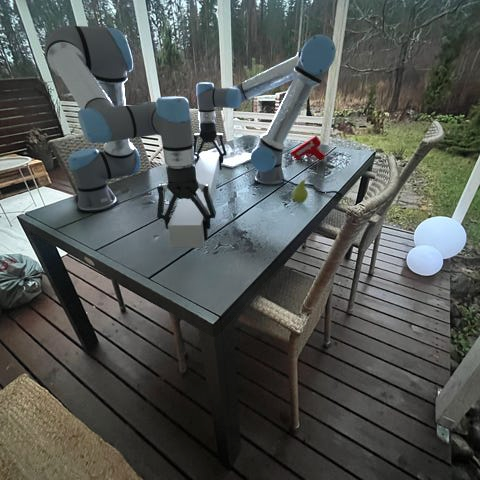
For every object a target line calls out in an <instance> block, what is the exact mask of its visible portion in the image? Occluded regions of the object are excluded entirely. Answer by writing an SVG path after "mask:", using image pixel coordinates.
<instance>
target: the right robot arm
mask: <svg viewBox="0 0 480 480" xmlns="http://www.w3.org/2000/svg"><path fill="white" fill-rule="evenodd" d="M336 51H337V50H336V45H335V42H334V41H333V39H332V38H331V37H329V36H328V35H325V34H321V33H320V34H315V35H313V36H312V37H310V38H309V39H308V40H307V41H306V42H304V44H303V46H302V48H301V50H300V51H298V52H297V53H296V55H295V56H294V57H291V58H289V59H287V60H285V61H283V62H281V63H279V64H276V65H275V66H273V67H271V68H269V69H267V70H265V71H262V72H261V73H259V74H257V75H255V76H252V77H251V78H249V79H247V80H245V81H243V82H240V83H238V84H236V85H233V86H230V87H222V88H221V87H220V88H219V87H218V88H217V87H215V85H214V83H213V82H198V83H197V84H196V100H197V101H196V102H197V111H198V121H199V123H198V124H199V133H194V134H193V147H194V156H196V157H197V159H196V163H197V162H198V160H199V157H200V156H199V154H200V153H201V152H202V150H203V148H204V145H205V144H207V143H208V144H209V143H210V144H211V143H212V144H213V145H214V147H215V148H216V149H217V151H218V152H219V154H220V155H219V166H220V171H222V169H223V168H222V165H221V163H223V156H225V155H226V154H227V152H226V148H225V145H226V144H225V141H224V138H223V137H224V134H223V133H218V132H217V123H216V108H217V109H218V108H221V109H222V108H223V109H238V108H240V107H241V104H242V103H244V102H246V101H248V100H251V99H252V98H255V97H257V96H259V95H262V94H264V93H266V92H268V91H270V90H274V89H275V88H277V87H279V86H282V85H284V84H286V83H288V82H291V83H290V85H289V87H288V90H287V91H286V93H285V95H284V97H283V99H282V101H281V103H280V105H279V107H278V109H277V111H276V113H275V115H274V117H273V119H272V121H271V124H270V126H269V127H268V129H267V131H266V133H263V134H261V135H260V137H259V140H258V142H257V143H256V146H255V147H254V148H253V149H252V151H251V153H250V154H251V160H250V162H251V165H252V167H253V168H254V169H255V170H257V171H256V174H255V177H254V181H255V183H258V184H259V185H262V186H263V185H264V186H279V185H281V184H283V183H284V182H286V183H288V184H290V185H294V186H295V187H297V186H298V184H299V183H295V182H292V181H290V180H287V179H285V175H284V172H283V171H284V170H283V167H282V165H283V154H284V153H283V152H284V150H285V141H286V139H287V137H288V135H289V134H290V132H291V130H292V128H293V126H294V125H295V123H296V121H297V119H298V117H299V115H300V114H301V112H302V110H303V108H304V106H305V104H306V102H307V101H308V99H309V98H310V95H311V94H312V92H313V91H314V88H315V87H318V86H320V85H321V84H322V82H323V80H324V78H325V76H326V75H327V73H328V71H329V70H330V68H331V67H332V65H333V63H334V61H335V59H336V53H337V52H336ZM199 138H200V139H201V142H200V145H199V148H198V150H197V145H198V139H199ZM216 138H218V139H219V142H220V146H222V149H223V153H222V151H221V149H220V146H219V144H218V142H217V140H216ZM314 185H315V184H312V183H305V187H312V188H315V190H316V191H317V192H318V193H321V194H332V193H333V194H337V195H338V196H339V197H340V196H341V197H342V196H343V195H342V193H341V192H339V191H337V190H329V191H324V192H322V191H323V190H321V191H319V190H320V189H319V188H318V189H317V188H316V187H315V186H316V185H315V186H314ZM325 192H326V193H325Z"/></svg>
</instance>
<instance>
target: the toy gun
mask: <svg viewBox="0 0 480 480" xmlns="http://www.w3.org/2000/svg"><path fill="white" fill-rule="evenodd" d="M321 143H322V141H321V140H320V139H319V137H318V136H317V135H314V136H313V137H311V138H309V139H308V140H306V141H305V142H303V143H302V144H301V145H299V146H297V147H296V148H294V149H293V150H291V153H290V154H291V156H292V157H293V159H294V158H296V159H294V160H295V161H297V160H299V159H301V158H303V157H305V156H306V157H307V158H310V157H312V156H314V157H315V158H316V159H317V160H318V159H319V160H321V161H322V159H323V161H324V159H325V157H326V154H325V152H323V151H322V150H321V149H320V148H319V146H320V147H321ZM319 160H318V162H319V163H320V162H321V161H319Z"/></svg>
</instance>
